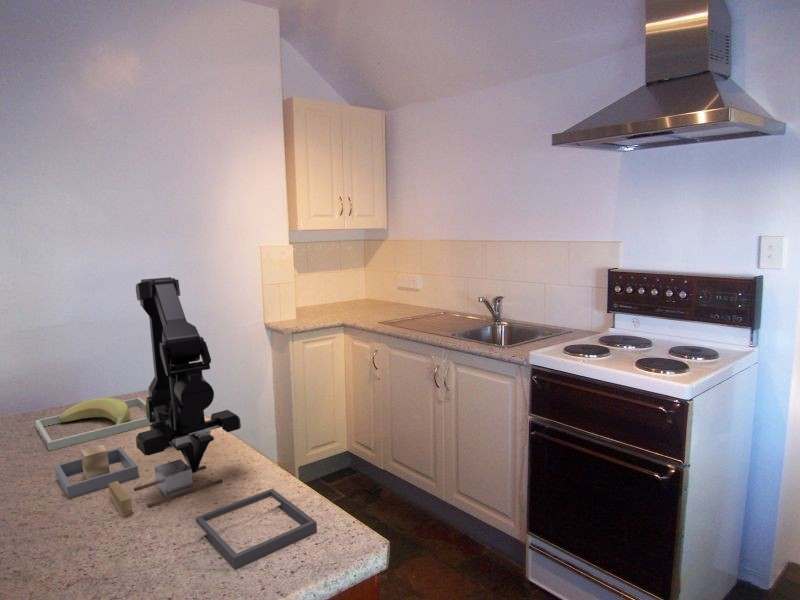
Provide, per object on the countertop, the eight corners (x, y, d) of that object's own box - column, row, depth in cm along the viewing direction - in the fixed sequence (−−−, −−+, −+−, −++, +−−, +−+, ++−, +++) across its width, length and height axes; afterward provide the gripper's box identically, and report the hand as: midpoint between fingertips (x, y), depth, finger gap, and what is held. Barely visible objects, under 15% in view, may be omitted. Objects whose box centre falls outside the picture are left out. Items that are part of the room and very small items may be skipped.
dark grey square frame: (273, 498, 106) (272, 488, 105) (317, 532, 94) (316, 521, 94) (196, 527, 96) (195, 517, 96) (234, 570, 85) (233, 558, 84)
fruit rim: (140, 403, 161) (139, 397, 161) (162, 421, 147) (161, 414, 146) (36, 427, 145) (35, 420, 145) (49, 450, 130) (48, 442, 130)
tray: (122, 462, 123) (120, 447, 123) (139, 482, 114) (137, 466, 113) (56, 481, 115) (54, 465, 115) (69, 504, 106) (66, 487, 105)
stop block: (105, 471, 117) (102, 444, 116) (110, 478, 114) (107, 450, 113) (84, 477, 114) (80, 450, 114) (88, 484, 111) (85, 456, 111)
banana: (105, 384, 155) (136, 408, 142) (112, 401, 157) (143, 425, 144) (53, 409, 146) (81, 437, 133) (61, 426, 149) (89, 455, 136)
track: (205, 472, 117) (203, 454, 117) (223, 487, 110) (221, 468, 110) (94, 508, 104) (92, 488, 103) (106, 528, 97) (104, 507, 96)
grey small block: (182, 477, 112) (180, 459, 112) (193, 488, 108) (191, 468, 107) (156, 486, 109) (154, 466, 109) (166, 497, 105) (164, 477, 104)
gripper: (216, 377, 120) (222, 446, 123) (123, 398, 108) (132, 473, 111) (239, 389, 112) (244, 462, 115) (141, 413, 100) (149, 493, 103)
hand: (194, 471), depth 111 cm, fingers closed
